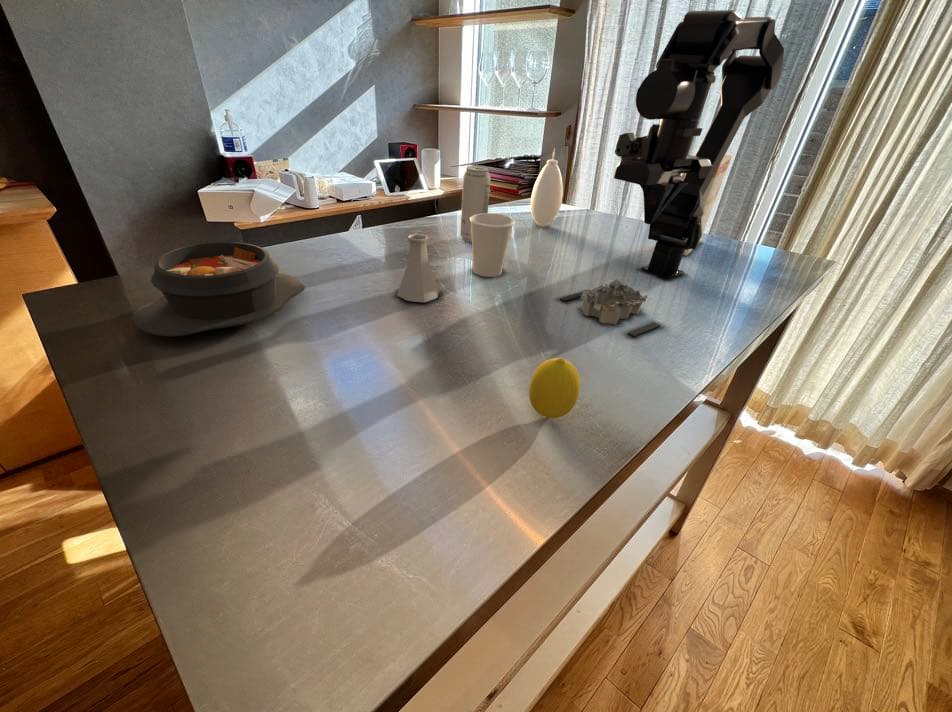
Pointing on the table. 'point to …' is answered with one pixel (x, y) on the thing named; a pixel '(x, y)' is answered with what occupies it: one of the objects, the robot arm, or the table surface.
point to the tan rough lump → (612, 302)
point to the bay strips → (632, 333)
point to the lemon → (554, 388)
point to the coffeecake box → (711, 192)
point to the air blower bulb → (547, 194)
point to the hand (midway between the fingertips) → (648, 223)
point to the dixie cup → (490, 242)
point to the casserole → (214, 289)
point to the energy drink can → (474, 197)
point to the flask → (418, 273)
